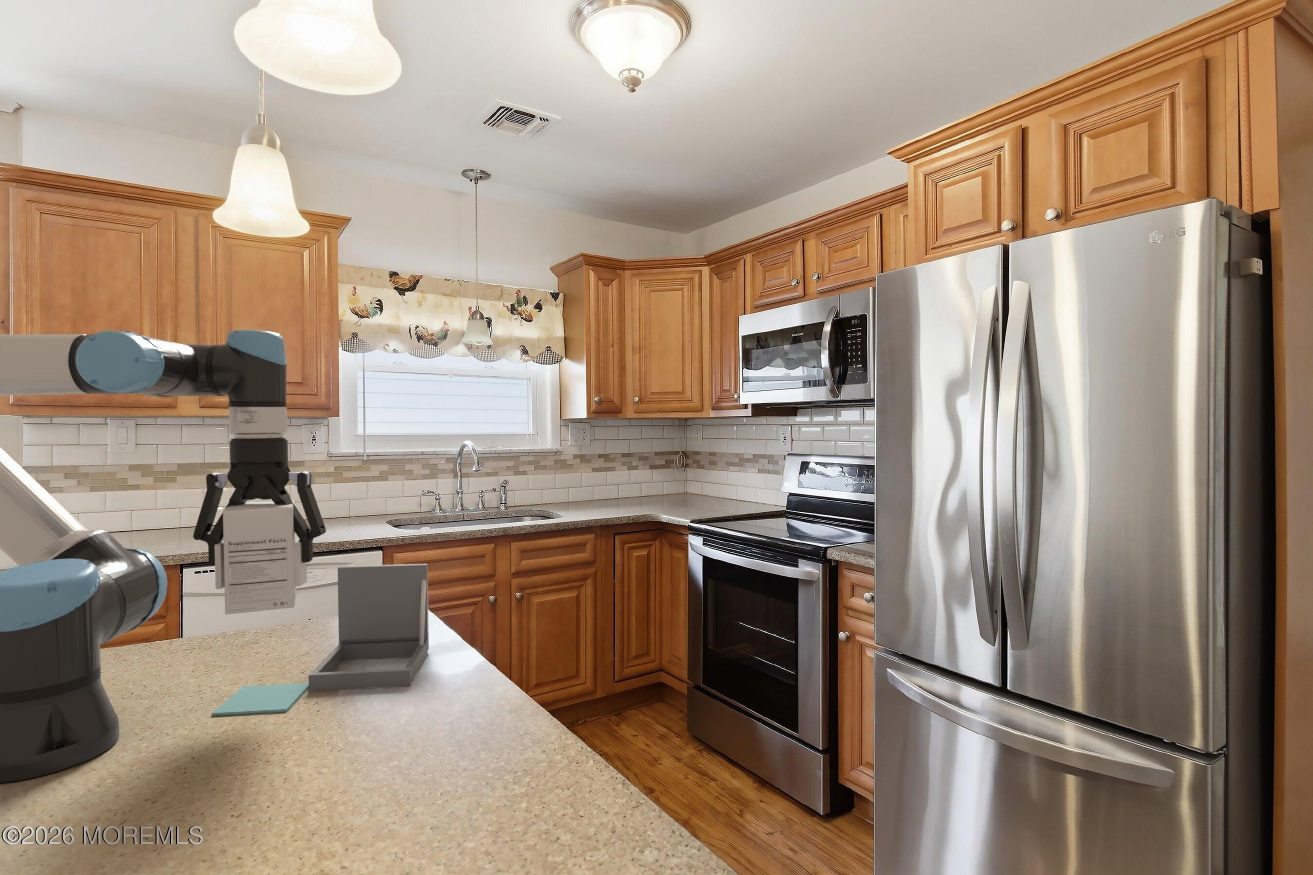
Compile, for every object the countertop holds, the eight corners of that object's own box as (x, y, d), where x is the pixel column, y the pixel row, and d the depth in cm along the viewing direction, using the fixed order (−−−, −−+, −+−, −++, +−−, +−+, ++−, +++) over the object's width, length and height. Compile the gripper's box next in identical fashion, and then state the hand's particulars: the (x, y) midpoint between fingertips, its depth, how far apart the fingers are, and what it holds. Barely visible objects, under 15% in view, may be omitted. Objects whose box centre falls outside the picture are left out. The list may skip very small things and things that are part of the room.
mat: (211, 715, 100) (211, 713, 100) (243, 688, 109) (243, 686, 109) (286, 711, 101) (286, 708, 101) (311, 685, 111) (311, 682, 111)
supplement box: (231, 600, 107) (229, 502, 106) (297, 594, 111) (295, 499, 110) (222, 615, 99) (220, 509, 98) (294, 608, 102) (292, 505, 102)
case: (308, 691, 108) (306, 588, 108) (340, 656, 124) (339, 566, 124) (409, 685, 110) (408, 584, 110) (428, 652, 126) (427, 563, 126)
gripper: (161, 437, 99) (165, 594, 99) (331, 436, 102) (334, 588, 102) (189, 436, 106) (192, 582, 107) (347, 435, 109) (349, 577, 110)
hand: (262, 585), depth 105 cm, fingers closed on supplement box, 10 cm apart
